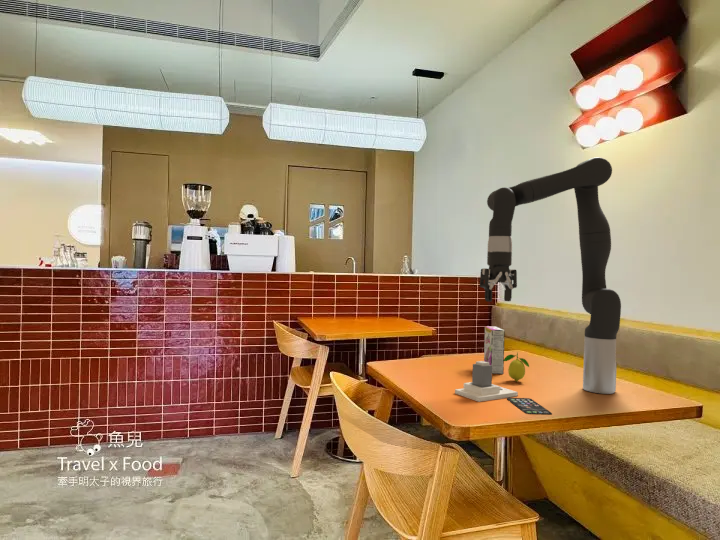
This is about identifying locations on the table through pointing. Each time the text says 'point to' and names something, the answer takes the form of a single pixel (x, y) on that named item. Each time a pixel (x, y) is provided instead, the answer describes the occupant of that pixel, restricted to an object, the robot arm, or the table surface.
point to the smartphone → (529, 406)
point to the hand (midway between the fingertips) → (498, 301)
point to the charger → (482, 374)
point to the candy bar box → (494, 348)
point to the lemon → (516, 367)
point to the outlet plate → (485, 392)
